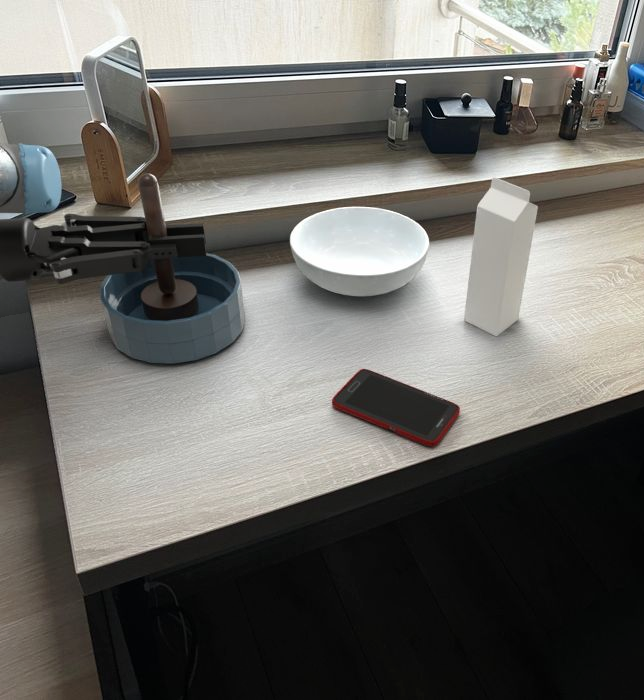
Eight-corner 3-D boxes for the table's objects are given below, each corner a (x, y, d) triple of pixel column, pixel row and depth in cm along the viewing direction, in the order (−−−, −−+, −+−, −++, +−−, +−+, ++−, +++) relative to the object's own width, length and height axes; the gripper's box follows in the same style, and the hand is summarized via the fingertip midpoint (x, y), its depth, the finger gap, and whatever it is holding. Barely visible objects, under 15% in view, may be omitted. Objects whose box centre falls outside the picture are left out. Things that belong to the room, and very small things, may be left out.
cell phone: (361, 372, 95) (361, 366, 95) (462, 411, 91) (462, 405, 91) (328, 406, 90) (328, 400, 89) (434, 450, 85) (434, 444, 85)
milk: (485, 304, 111) (504, 169, 97) (519, 319, 108) (542, 184, 95) (462, 320, 107) (479, 182, 93) (496, 338, 104) (518, 198, 91)
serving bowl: (401, 235, 124) (402, 199, 120) (446, 303, 110) (450, 264, 106) (279, 250, 117) (276, 212, 113) (310, 325, 102) (308, 284, 98)
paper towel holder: (156, 330, 95) (127, 192, 83) (136, 303, 99) (105, 168, 87) (207, 313, 99) (187, 179, 86) (186, 289, 103) (163, 157, 90)
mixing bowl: (140, 384, 90) (129, 339, 85) (92, 314, 99) (80, 271, 95) (267, 338, 99) (263, 296, 95) (212, 279, 109) (206, 238, 104)
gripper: (19, 245, 95) (207, 235, 102) (-4, 312, 84) (209, 296, 91) (1, 193, 91) (200, 186, 97) (-25, 257, 79) (201, 244, 86)
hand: (204, 239), depth 94 cm, fingers closed on paper towel holder, 2 cm apart
